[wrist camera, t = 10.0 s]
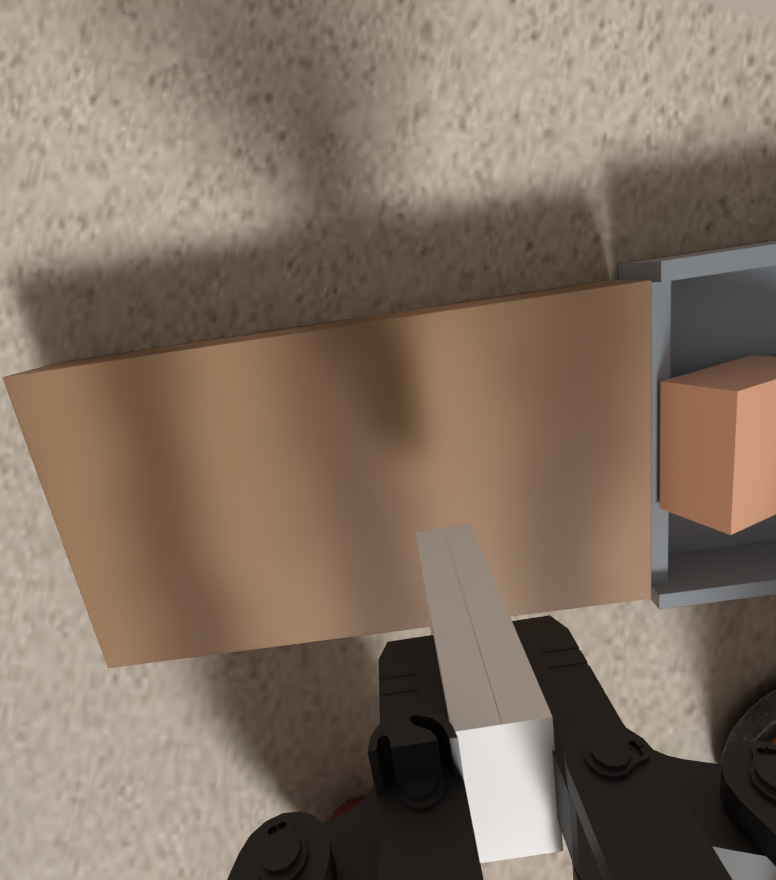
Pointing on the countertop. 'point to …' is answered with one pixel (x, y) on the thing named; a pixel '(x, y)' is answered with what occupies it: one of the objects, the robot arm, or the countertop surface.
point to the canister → (756, 723)
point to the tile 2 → (720, 444)
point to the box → (692, 349)
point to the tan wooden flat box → (350, 469)
